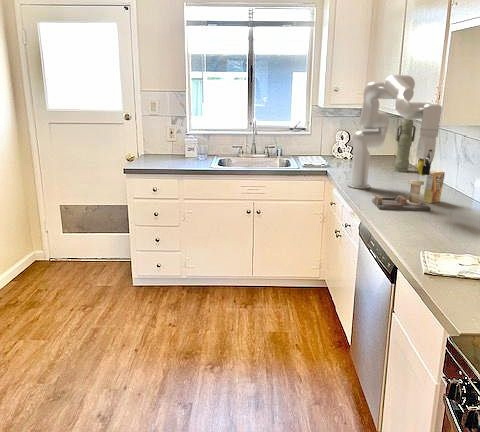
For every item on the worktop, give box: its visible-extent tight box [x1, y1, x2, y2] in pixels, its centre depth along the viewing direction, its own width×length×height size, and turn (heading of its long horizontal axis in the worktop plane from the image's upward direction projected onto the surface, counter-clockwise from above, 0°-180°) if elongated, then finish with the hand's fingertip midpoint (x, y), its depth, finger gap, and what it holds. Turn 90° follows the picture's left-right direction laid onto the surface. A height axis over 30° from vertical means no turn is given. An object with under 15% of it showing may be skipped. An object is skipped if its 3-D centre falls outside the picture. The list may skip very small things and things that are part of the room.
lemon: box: [416, 159, 432, 177], centre depth 206 cm, size 6×6×8 cm
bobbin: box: [406, 179, 425, 206], centre depth 220 cm, size 7×7×11 cm
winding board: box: [371, 194, 432, 212], centre depth 222 cm, size 14×24×4 cm, turn 88°
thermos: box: [393, 118, 417, 173], centre depth 303 cm, size 9×12×35 cm
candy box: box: [422, 170, 446, 204], centre depth 230 cm, size 9×4×15 cm, turn 123°
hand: (422, 172), depth 207 cm, fingers closed on lemon, 5 cm apart
